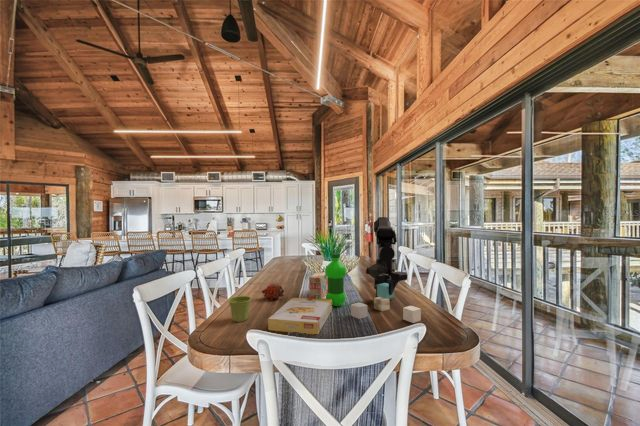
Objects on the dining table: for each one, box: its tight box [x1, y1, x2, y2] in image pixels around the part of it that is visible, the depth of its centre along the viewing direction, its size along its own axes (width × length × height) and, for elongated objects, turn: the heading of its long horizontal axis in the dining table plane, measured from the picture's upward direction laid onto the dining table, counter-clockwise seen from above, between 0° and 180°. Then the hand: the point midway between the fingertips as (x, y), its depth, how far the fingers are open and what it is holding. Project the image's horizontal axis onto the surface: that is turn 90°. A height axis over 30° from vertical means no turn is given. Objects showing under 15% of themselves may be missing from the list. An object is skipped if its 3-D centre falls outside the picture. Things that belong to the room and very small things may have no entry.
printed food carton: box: [308, 271, 328, 299], centre depth 157 cm, size 21×6×12 cm, turn 163°
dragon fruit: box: [261, 283, 285, 301], centre depth 150 cm, size 8×8×12 cm
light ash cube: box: [373, 296, 391, 312], centre depth 133 cm, size 5×5×5 cm
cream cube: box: [402, 305, 422, 324], centre depth 119 cm, size 5×5×5 cm
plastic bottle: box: [324, 252, 347, 307], centre depth 139 cm, size 10×10×25 cm
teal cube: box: [376, 283, 395, 299], centre depth 122 cm, size 5×5×5 cm
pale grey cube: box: [350, 301, 368, 320], centre depth 124 cm, size 5×5×5 cm
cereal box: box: [267, 297, 333, 335], centre depth 121 cm, size 20×6×28 cm
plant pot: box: [228, 295, 252, 323], centre depth 121 cm, size 9×9×9 cm
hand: (385, 293), depth 122 cm, fingers closed on teal cube, 5 cm apart
